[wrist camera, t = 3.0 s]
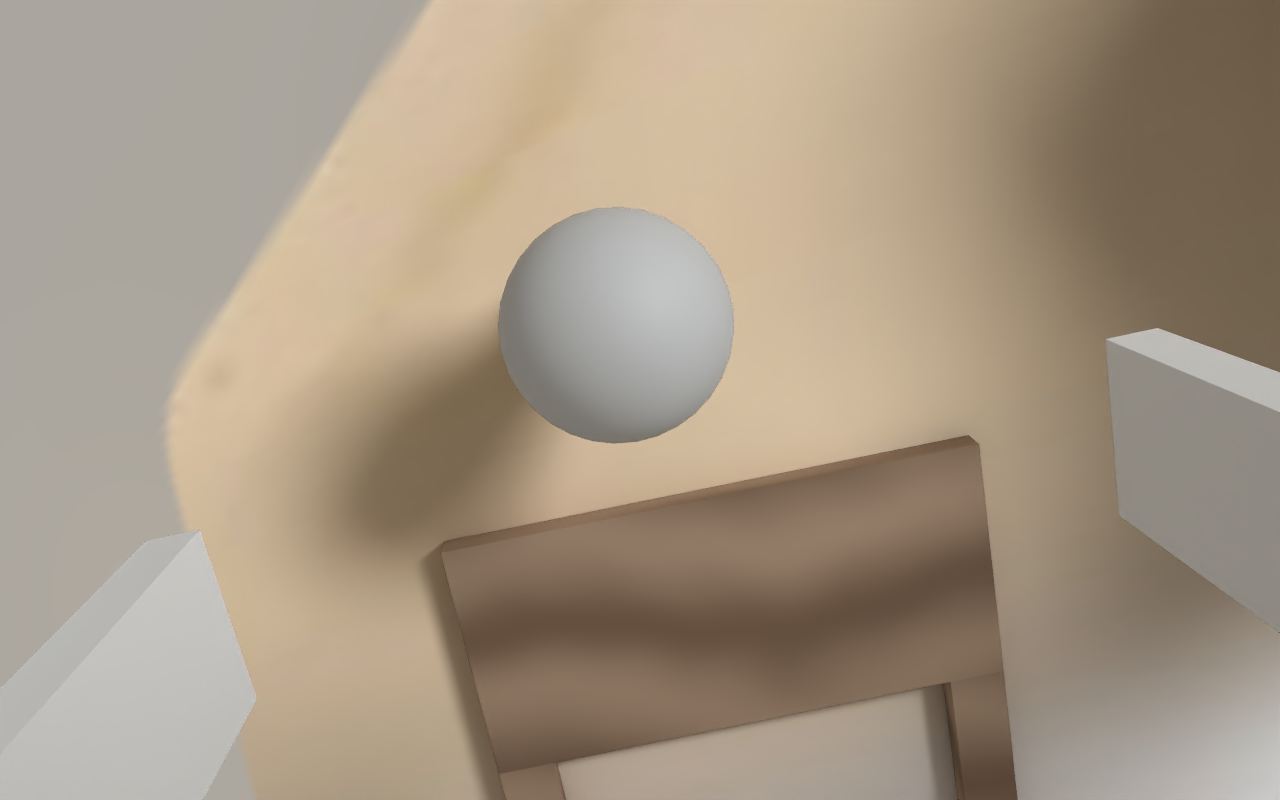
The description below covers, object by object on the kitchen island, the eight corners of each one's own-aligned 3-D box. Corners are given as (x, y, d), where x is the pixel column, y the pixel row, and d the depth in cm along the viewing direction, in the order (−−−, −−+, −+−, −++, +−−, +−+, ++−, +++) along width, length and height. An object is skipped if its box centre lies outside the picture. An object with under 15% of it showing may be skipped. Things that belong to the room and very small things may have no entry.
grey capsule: (710, 352, 36) (767, 453, 25) (533, 382, 36) (517, 495, 25) (683, 172, 34) (733, 199, 24) (499, 203, 34) (465, 243, 24)
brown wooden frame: (444, 541, 37) (440, 553, 36) (968, 435, 37) (979, 443, 36) (561, 988, 42) (561, 1009, 42) (1019, 894, 43) (1029, 912, 42)
